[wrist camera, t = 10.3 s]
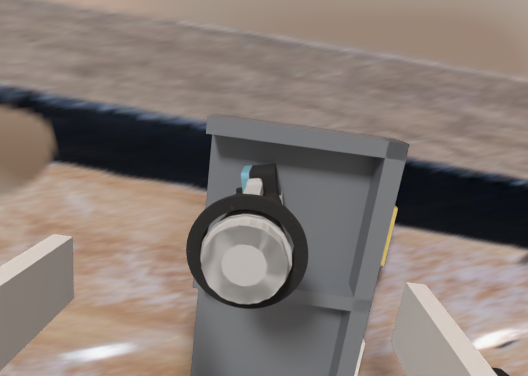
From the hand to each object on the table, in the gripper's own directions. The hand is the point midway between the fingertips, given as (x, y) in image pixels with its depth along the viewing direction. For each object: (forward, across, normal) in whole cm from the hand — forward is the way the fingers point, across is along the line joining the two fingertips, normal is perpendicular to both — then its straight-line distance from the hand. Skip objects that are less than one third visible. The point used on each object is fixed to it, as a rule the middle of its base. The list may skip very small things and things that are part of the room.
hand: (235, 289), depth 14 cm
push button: (+11, -1, 0) cm, 11 cm away
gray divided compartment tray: (+12, -3, +5) cm, 13 cm away
